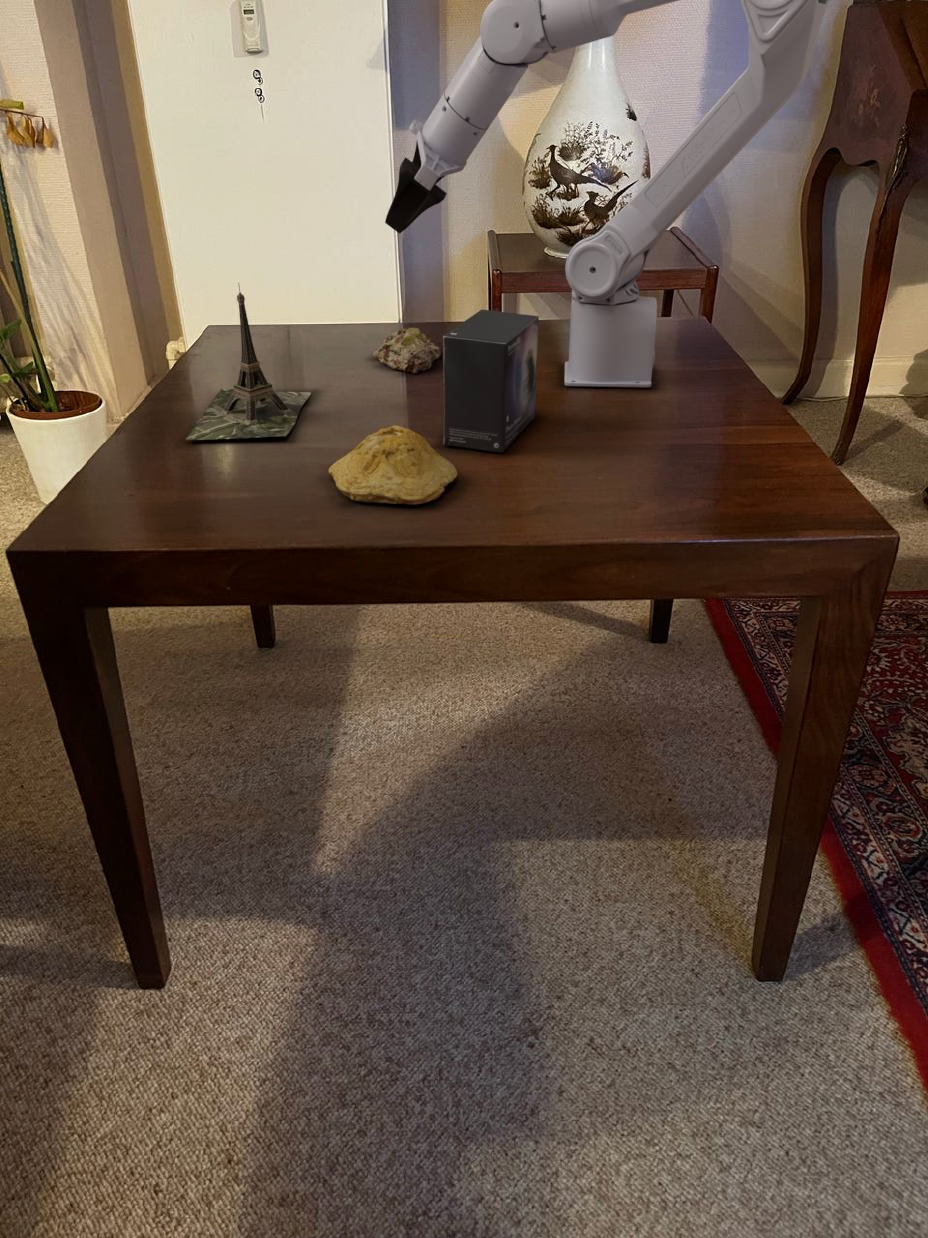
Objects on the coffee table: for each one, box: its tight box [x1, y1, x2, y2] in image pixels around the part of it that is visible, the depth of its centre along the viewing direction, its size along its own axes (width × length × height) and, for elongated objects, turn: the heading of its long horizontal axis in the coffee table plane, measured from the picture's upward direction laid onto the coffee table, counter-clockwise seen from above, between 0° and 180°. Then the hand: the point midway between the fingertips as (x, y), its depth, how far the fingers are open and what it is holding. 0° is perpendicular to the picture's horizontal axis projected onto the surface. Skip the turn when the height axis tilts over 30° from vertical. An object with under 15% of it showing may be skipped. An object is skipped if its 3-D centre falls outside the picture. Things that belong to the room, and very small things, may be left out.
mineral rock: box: [372, 327, 443, 374], centre depth 111 cm, size 11×4×8 cm
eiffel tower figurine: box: [185, 282, 313, 441], centre depth 93 cm, size 15×10×13 cm
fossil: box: [328, 424, 458, 506], centre depth 80 cm, size 11×6×10 cm
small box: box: [442, 309, 540, 454], centre depth 89 cm, size 11×6×10 cm, turn 160°
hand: (400, 213), depth 106 cm, fingers open, 7 cm apart
